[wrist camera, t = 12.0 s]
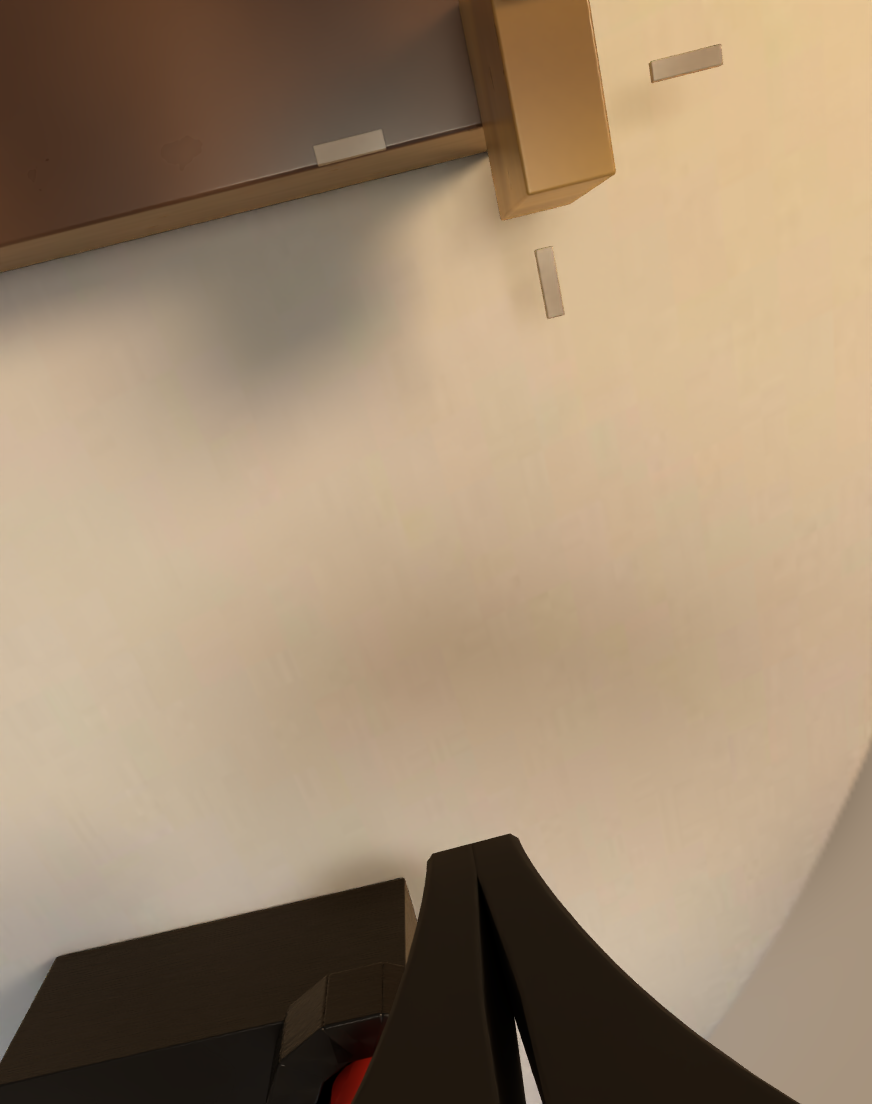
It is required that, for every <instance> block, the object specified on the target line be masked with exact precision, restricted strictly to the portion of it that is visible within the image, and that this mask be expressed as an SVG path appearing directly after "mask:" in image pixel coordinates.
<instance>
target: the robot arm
mask: <svg viewBox="0 0 872 1104" xmlns="http://www.w3.org/2000/svg"><path fill="white" fill-rule="evenodd" d="M514 1017H515V1018H514ZM515 1020H516V1023H517V1026H518V1029H519V1032H520V1036H521V1039H522V1042H523V1045H524V1048H525V1051H526V1054H527V1057H528V1060H529V1063H530V1066H531V1069H532V1073H533V1076H534V1079H535V1082H536V1085H537V1088H538V1091H539V1094H540V1097H541V1100H542V1103H543V1104H800V1103H798V1102H796V1101H795V1100H793V1099H792V1098H790V1097H789V1096H787V1095H785V1094H784V1093H782V1092H781V1091H779V1090H778V1089H776V1088H774V1087H773V1086H771V1085H770V1084H768V1083H766V1082H765V1081H763V1080H762V1079H760V1078H758V1077H757V1076H755V1075H754V1074H753V1073H751V1072H750V1071H748V1070H747V1069H746V1068H744V1067H743V1066H741V1065H740V1064H739V1063H737V1062H736V1061H734V1060H733V1059H732V1058H730V1057H729V1056H727V1055H726V1054H724V1053H723V1052H722V1051H720V1050H719V1049H718V1048H716V1047H715V1046H713V1045H712V1044H711V1043H709V1042H708V1041H706V1040H705V1039H704V1038H702V1037H701V1036H699V1035H698V1034H697V1033H695V1032H694V1031H693V1030H691V1029H690V1028H689V1027H688V1026H687V1025H685V1024H684V1023H683V1022H682V1021H680V1020H679V1019H678V1018H677V1017H675V1016H674V1015H673V1014H672V1013H671V1012H669V1011H668V1010H667V1009H666V1008H664V1007H663V1006H662V1005H661V1004H660V1003H659V1002H657V1001H656V1000H655V999H654V998H653V997H652V996H651V995H649V994H648V993H647V992H646V991H645V990H644V989H643V988H641V987H640V986H639V985H638V984H637V983H636V982H635V981H634V980H633V979H632V978H631V977H630V976H628V975H627V974H626V973H625V972H624V971H623V970H622V969H621V968H620V967H619V966H618V965H617V964H616V963H615V962H614V961H613V960H612V959H611V958H610V957H609V956H608V955H607V954H606V953H605V952H604V951H603V950H602V949H601V948H600V946H599V945H598V944H597V943H596V942H595V941H594V940H593V939H592V938H591V937H590V936H589V935H588V934H587V933H586V931H585V930H584V929H583V928H582V927H581V926H580V925H579V924H578V922H577V921H576V920H575V919H574V918H573V916H572V915H571V914H570V913H569V912H568V911H567V909H566V908H565V907H564V906H563V905H562V903H561V902H560V901H559V900H558V899H557V897H556V896H555V895H554V893H553V892H552V891H551V890H550V888H549V887H548V886H547V884H546V883H545V881H544V880H543V879H542V877H541V876H540V875H539V873H538V872H537V870H536V869H535V867H534V866H533V864H532V863H531V861H530V859H529V858H528V856H527V854H526V853H525V851H524V849H523V847H522V845H521V843H520V841H519V838H517V837H515V836H513V835H512V834H506V835H503V836H499V837H495V838H491V839H487V840H483V841H480V842H476V843H472V844H468V845H464V846H460V847H457V848H453V849H449V850H445V851H441V852H437V853H433V854H432V855H431V857H430V858H429V860H428V861H427V872H426V880H425V887H424V893H423V898H422V903H421V908H420V912H419V917H418V922H417V926H416V929H415V933H414V937H413V940H412V944H411V948H410V952H409V955H408V959H407V963H406V966H405V969H404V972H403V975H402V978H401V981H400V984H399V987H398V990H397V993H396V996H395V999H394V1002H393V1005H392V1008H391V1011H390V1014H389V1017H388V1019H387V1022H386V1024H385V1027H384V1030H383V1032H382V1035H381V1037H380V1040H379V1042H378V1045H377V1047H376V1050H375V1052H374V1054H373V1057H372V1059H371V1061H370V1063H369V1066H368V1068H367V1070H366V1073H365V1075H364V1077H363V1079H362V1082H361V1084H360V1086H359V1088H358V1090H357V1092H356V1094H355V1096H354V1098H353V1100H352V1102H351V1104H526V1100H525V1093H524V1085H523V1078H522V1070H521V1063H520V1055H519V1048H518V1040H517V1033H516V1026H515Z"/></svg>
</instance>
